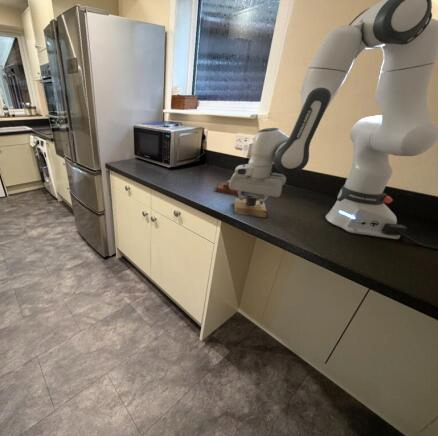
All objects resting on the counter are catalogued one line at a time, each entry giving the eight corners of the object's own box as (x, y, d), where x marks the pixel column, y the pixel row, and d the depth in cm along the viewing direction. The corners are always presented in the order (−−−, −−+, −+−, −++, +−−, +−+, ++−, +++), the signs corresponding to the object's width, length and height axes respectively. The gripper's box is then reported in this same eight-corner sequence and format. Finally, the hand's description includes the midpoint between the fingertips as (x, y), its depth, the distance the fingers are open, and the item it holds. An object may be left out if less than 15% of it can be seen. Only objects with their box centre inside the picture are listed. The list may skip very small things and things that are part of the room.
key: (235, 183, 122) (236, 180, 121) (234, 186, 119) (234, 182, 118) (228, 182, 123) (229, 179, 122) (227, 184, 120) (227, 181, 119)
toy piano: (243, 189, 124) (245, 182, 122) (240, 196, 116) (241, 188, 114) (220, 185, 129) (221, 179, 127) (216, 191, 121) (217, 184, 119)
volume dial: (254, 202, 102) (256, 194, 100) (255, 206, 98) (258, 198, 97) (245, 201, 103) (247, 193, 101) (245, 205, 99) (247, 197, 98)
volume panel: (262, 207, 105) (263, 201, 103) (265, 217, 96) (267, 210, 95) (234, 204, 108) (235, 197, 106) (234, 213, 99) (236, 206, 98)
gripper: (287, 172, 92) (277, 204, 98) (234, 165, 100) (228, 195, 107) (287, 177, 87) (277, 210, 93) (231, 169, 95) (225, 199, 102)
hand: (250, 202), depth 100 cm, fingers open, 7 cm apart
